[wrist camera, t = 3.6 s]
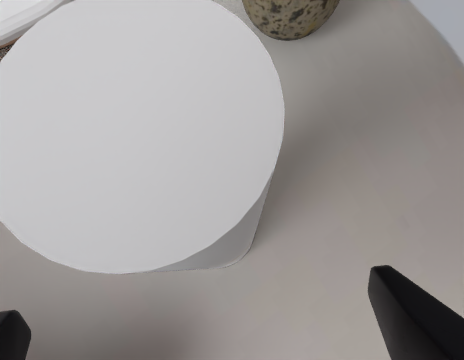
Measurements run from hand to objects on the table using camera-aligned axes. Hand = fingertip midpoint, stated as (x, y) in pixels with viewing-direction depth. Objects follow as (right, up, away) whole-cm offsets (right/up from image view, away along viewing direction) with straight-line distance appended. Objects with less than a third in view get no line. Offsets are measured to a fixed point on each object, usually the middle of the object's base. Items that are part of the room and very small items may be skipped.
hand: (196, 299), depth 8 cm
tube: (0, 0, +11) cm, 11 cm away
